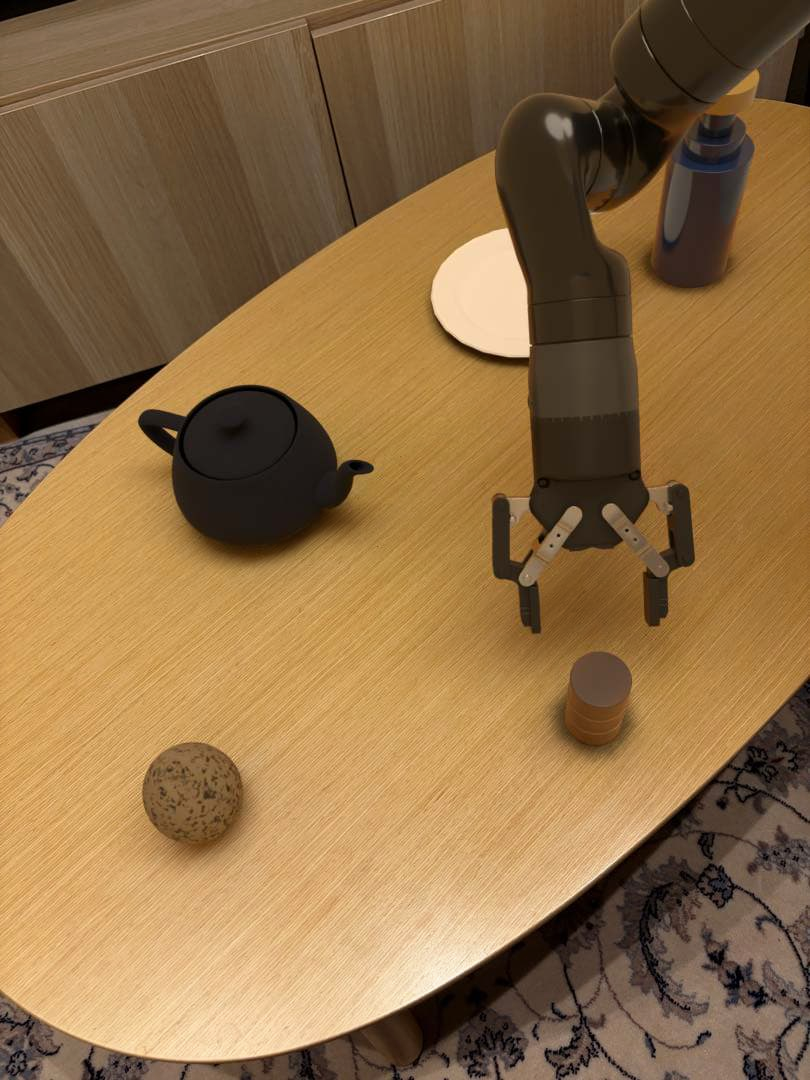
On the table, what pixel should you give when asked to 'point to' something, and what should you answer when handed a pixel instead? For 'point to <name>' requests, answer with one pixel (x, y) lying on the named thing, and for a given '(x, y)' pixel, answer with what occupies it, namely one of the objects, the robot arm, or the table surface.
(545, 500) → the robot arm
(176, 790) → the decorative egg
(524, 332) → the plate
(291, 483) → the teapot
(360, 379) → the table surface
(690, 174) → the bottle
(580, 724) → the brown ridged cylinder
